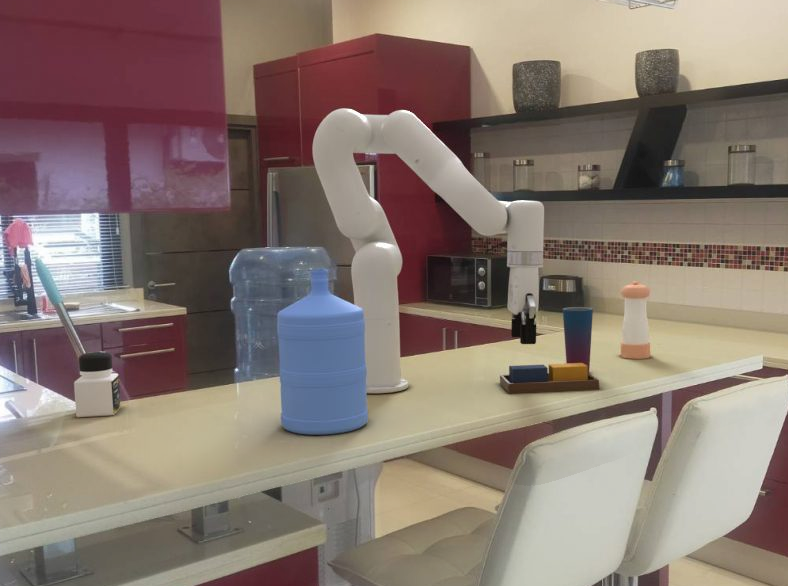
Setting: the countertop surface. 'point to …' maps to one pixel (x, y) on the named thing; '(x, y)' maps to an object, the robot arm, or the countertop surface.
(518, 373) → the dark blue block
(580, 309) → the cup
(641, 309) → the pepper shaker
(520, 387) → the tray
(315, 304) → the water jug
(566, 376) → the orange rectangular block
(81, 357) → the medicine bottle
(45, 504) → the countertop surface
